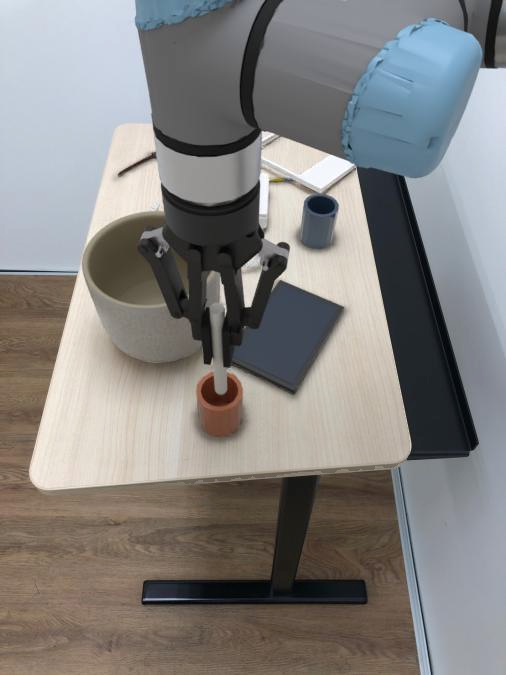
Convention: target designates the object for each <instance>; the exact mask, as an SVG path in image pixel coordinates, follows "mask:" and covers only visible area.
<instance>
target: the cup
mask: <svg viewBox="0 0 506 675" xmlns="http://www.w3.org/2000/svg"><path fill="white" fill-rule="evenodd" d="M195 396H196V405H197V412H198V419H199V425H200V426H201V428H202V429H203V431H204V432H205V433H207V434H208V435H210V436H212V437H217V438H223V437H229V436H230V435H232V434H234V433H235V432H237V431H238V429H239V428H240V426H241V425H242V422H243V409H244V408H243V406H244V404H243V403H244V398H243V396H244V387H243V384H242V382H241V379H239V378H238V377H237V376H236V375H235V374H233V373H231V372H229V371H227V391H226V393H225V394H224V395H223V396H219V395H218V394H217V393H216V391H215V385H214V371H210V372H208V373H207V374H205V375H203V376H202V377H201V379H200V380H198V382H197V384H196V389H195Z"/></svg>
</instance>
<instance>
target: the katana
mask: <svg viewBox="0 0 506 675" xmlns="http://www.w3.org/2000/svg"><path fill="white" fill-rule="evenodd" d="M152 158H155V159H157V156H156V151H152V152H151V154H150V155H148V156H146V157H145V158H142V159H140V160H139V161H136V162H135V163H133V164H130V165H129V166H128V167H126V168H124V169H122V170H121V171H119V172H118V173H117V176H118V177H119V176H120V175H122V174H124V173H126V172H127V171H129V170H131V169H132V168H134V167H136V166H138V165H140V164H142V163H143V162H146V161H148V160H150V159H152Z"/></svg>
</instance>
